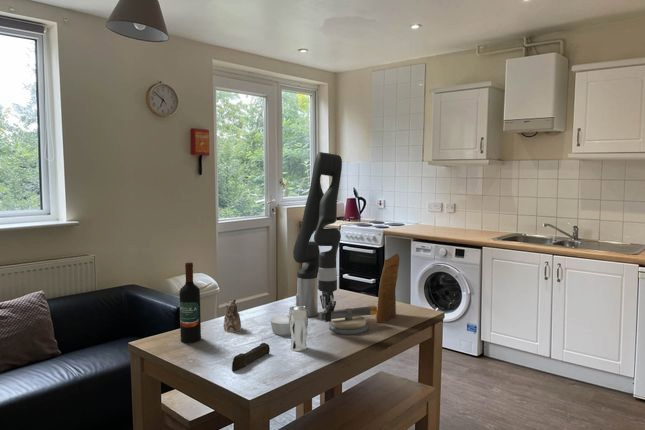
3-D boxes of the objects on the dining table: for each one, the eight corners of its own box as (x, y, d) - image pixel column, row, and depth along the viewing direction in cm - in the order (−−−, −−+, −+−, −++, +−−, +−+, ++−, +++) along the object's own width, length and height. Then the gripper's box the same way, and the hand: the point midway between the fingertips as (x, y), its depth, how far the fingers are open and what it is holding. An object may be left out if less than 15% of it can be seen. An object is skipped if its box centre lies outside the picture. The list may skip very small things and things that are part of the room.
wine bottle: (204, 337, 188) (203, 261, 186) (193, 344, 181) (191, 265, 179) (188, 335, 191) (186, 260, 188) (176, 341, 184) (174, 264, 181)
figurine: (219, 330, 197) (219, 301, 196) (230, 325, 204) (230, 297, 202) (233, 333, 194) (233, 303, 193) (244, 327, 200) (244, 299, 199)
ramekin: (303, 331, 196) (303, 319, 195) (283, 338, 188) (283, 325, 187) (285, 325, 204) (285, 313, 203) (264, 332, 195) (264, 319, 195)
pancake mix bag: (403, 314, 219) (404, 253, 217) (384, 325, 204) (385, 260, 201) (390, 312, 223) (390, 252, 221) (370, 322, 207) (371, 258, 205)
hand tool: (261, 352, 174) (261, 339, 174) (270, 354, 172) (270, 341, 172) (225, 371, 158) (225, 357, 157) (235, 373, 156) (234, 359, 155)
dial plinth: (326, 333, 193) (326, 329, 193) (332, 321, 209) (332, 317, 209) (365, 335, 190) (365, 331, 190) (369, 323, 206) (369, 319, 206)
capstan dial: (314, 322, 202) (314, 307, 201) (368, 316, 211) (368, 302, 210) (326, 332, 189) (326, 317, 188) (383, 325, 198) (383, 310, 197)
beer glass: (305, 352, 173) (305, 311, 172) (286, 351, 174) (286, 310, 173) (309, 345, 180) (309, 306, 179) (291, 344, 181) (291, 305, 180)
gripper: (342, 280, 186) (342, 324, 187) (330, 274, 199) (330, 316, 200) (324, 282, 184) (324, 326, 185) (313, 276, 196) (313, 317, 197)
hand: (327, 321), depth 192 cm, fingers closed
